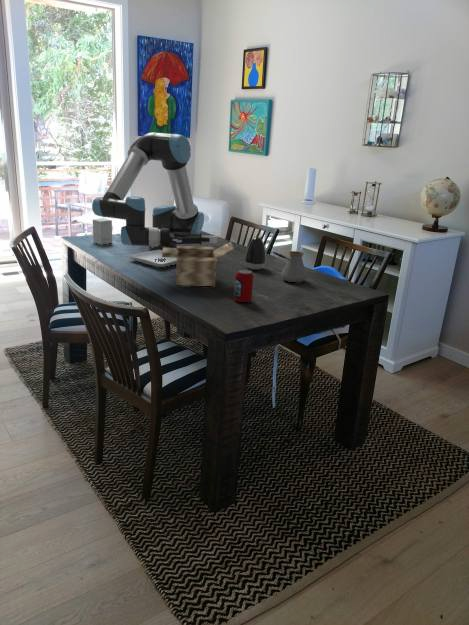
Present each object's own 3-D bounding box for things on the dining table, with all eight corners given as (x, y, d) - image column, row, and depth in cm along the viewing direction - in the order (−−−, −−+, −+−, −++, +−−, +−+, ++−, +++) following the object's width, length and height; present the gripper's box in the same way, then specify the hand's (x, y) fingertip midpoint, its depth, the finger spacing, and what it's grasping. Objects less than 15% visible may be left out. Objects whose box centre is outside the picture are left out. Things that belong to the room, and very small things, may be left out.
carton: (161, 289, 201) (161, 258, 196) (162, 272, 223) (163, 244, 219) (215, 291, 204) (217, 260, 199) (211, 274, 226) (213, 247, 222)
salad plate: (159, 255, 254) (159, 248, 253) (191, 263, 243) (191, 256, 241) (127, 262, 237) (127, 255, 236) (161, 271, 226) (161, 264, 225)
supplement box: (112, 243, 268) (112, 220, 264) (101, 245, 263) (100, 221, 258) (104, 241, 273) (104, 217, 268) (92, 242, 267) (92, 219, 263)
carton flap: (233, 248, 204) (234, 250, 204) (230, 241, 216) (231, 242, 216) (216, 257, 204) (217, 259, 204) (214, 250, 217) (214, 251, 217)
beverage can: (233, 297, 197) (235, 268, 193) (250, 298, 198) (252, 269, 194) (234, 303, 191) (236, 273, 187) (252, 304, 191) (254, 274, 187)
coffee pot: (292, 275, 233) (295, 244, 228) (311, 282, 225) (315, 249, 220) (259, 282, 219) (262, 249, 214) (278, 289, 211) (282, 255, 206)
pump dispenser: (268, 267, 243) (271, 237, 238) (260, 272, 234) (263, 240, 229) (249, 264, 247) (251, 233, 242) (240, 268, 238) (243, 237, 233)
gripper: (159, 242, 212) (215, 245, 215) (159, 250, 200) (218, 252, 203) (160, 225, 210) (216, 227, 213) (159, 231, 197) (219, 233, 201)
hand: (217, 239), depth 208 cm, fingers closed
